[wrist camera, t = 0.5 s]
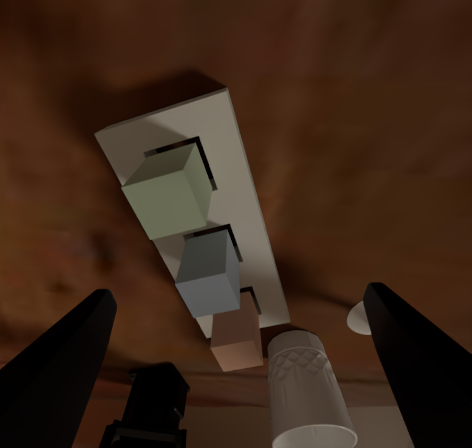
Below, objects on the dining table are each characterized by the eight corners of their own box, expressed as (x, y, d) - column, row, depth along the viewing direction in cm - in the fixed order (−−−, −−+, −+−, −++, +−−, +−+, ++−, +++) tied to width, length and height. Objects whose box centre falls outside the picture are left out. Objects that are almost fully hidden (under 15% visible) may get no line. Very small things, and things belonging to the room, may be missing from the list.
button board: (208, 318, 31) (206, 338, 29) (109, 125, 20) (93, 133, 17) (286, 303, 29) (290, 322, 27) (227, 87, 18) (226, 91, 16)
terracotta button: (225, 321, 27) (223, 371, 23) (214, 298, 25) (210, 347, 21) (258, 315, 26) (263, 364, 22) (249, 291, 25) (253, 340, 20)
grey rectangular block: (201, 270, 23) (193, 318, 19) (186, 239, 22) (174, 284, 17) (238, 261, 23) (240, 308, 19) (227, 229, 21) (225, 272, 17)
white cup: (250, 352, 34) (255, 449, 26) (289, 317, 31) (310, 416, 22) (297, 371, 36) (317, 466, 28) (339, 340, 33) (376, 438, 25)
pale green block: (168, 200, 20) (150, 240, 15) (147, 156, 18) (120, 187, 14) (212, 188, 19) (206, 225, 15) (195, 142, 18) (183, 169, 13)
